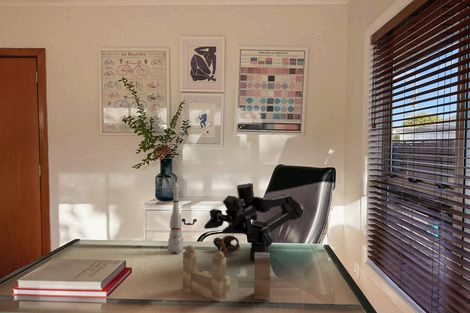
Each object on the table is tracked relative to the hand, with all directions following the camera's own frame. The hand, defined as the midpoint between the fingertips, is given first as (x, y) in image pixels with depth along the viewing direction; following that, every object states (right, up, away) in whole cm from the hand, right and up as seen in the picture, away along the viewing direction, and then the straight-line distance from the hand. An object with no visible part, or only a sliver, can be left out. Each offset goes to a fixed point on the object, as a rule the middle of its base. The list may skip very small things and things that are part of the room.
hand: (213, 229), depth 112 cm
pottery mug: (+4, -16, +27) cm, 32 cm away
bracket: (+16, -17, -15) cm, 27 cm away
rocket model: (-18, -16, +27) cm, 36 cm away
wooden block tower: (-1, -17, -11) cm, 20 cm away
